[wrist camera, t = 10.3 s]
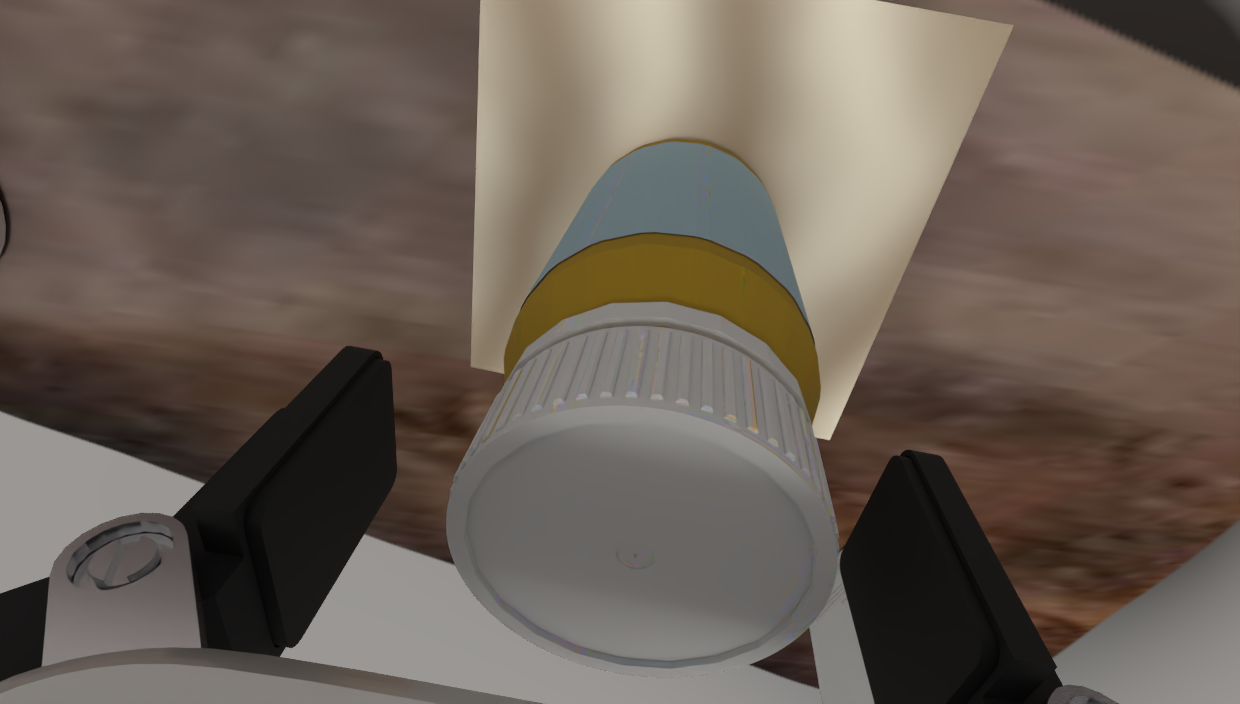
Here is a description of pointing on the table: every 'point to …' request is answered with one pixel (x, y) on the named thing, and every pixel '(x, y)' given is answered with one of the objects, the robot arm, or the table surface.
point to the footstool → (728, 137)
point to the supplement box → (839, 651)
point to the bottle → (655, 434)
